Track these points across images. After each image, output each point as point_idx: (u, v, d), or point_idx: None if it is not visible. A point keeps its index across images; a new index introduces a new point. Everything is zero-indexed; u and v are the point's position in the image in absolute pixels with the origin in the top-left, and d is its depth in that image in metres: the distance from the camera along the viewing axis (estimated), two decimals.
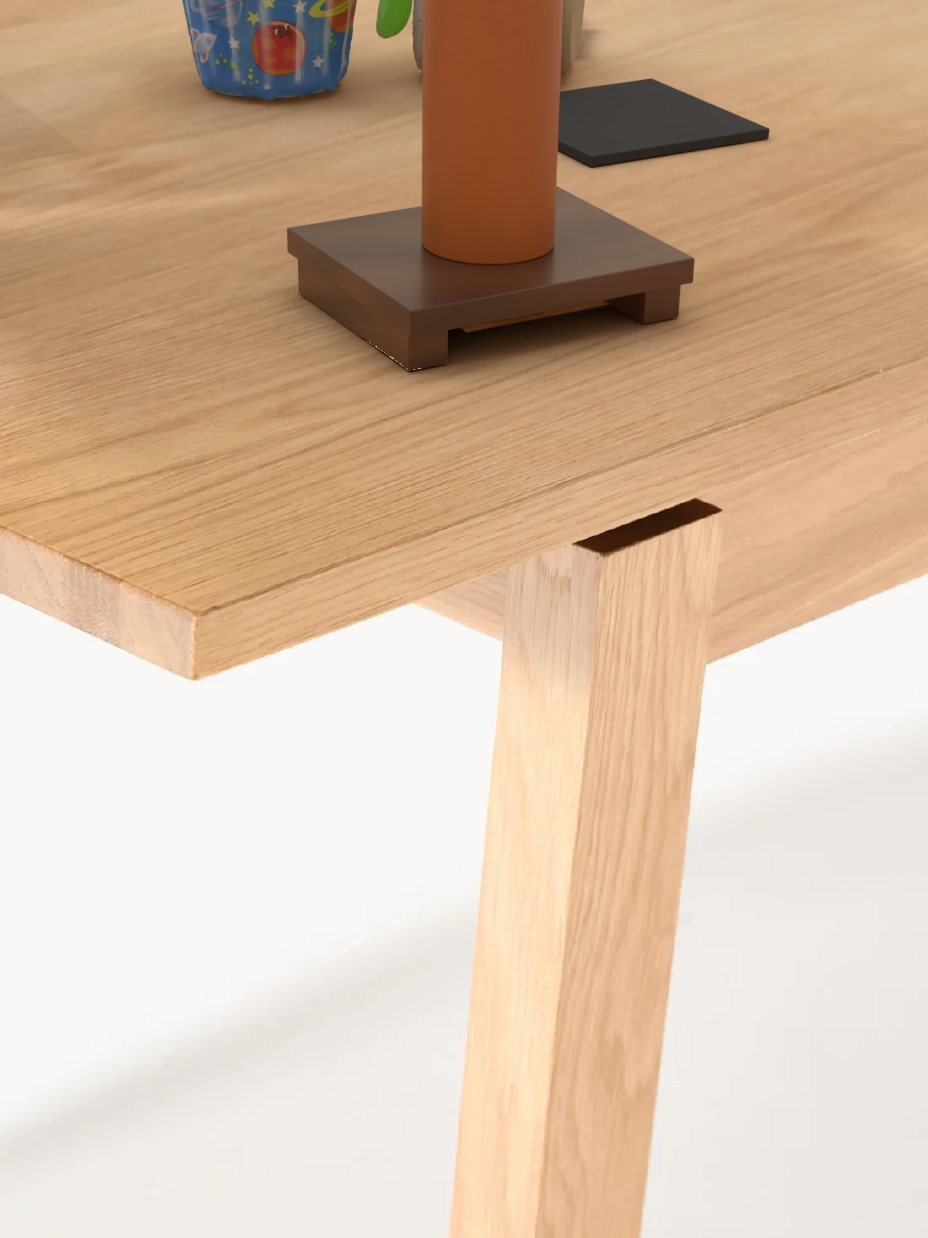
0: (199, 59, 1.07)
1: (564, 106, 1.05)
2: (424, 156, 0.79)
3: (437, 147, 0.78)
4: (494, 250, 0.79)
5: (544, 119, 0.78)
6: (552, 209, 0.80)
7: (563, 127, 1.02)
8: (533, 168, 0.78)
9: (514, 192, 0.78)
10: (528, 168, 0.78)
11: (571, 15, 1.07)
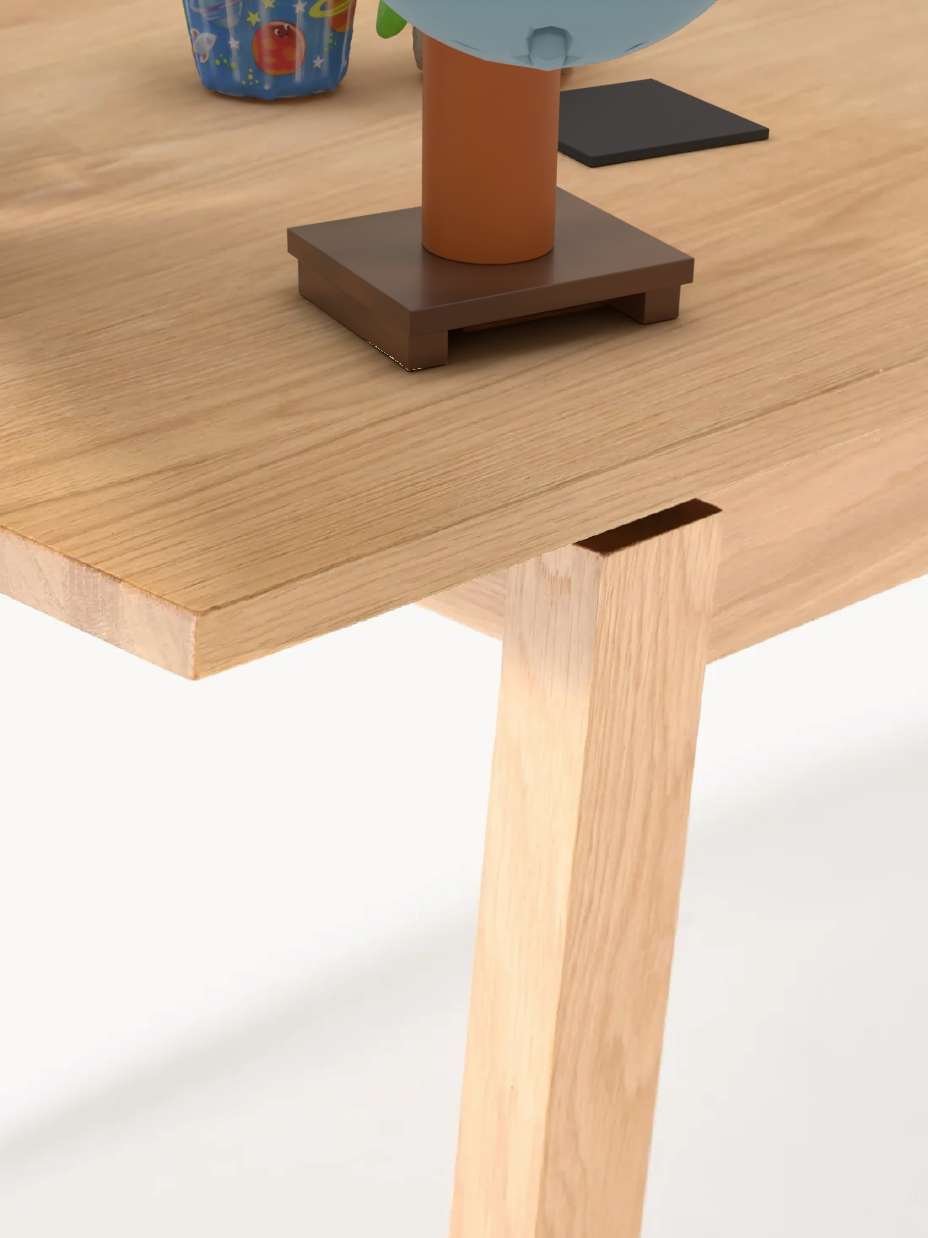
0: (199, 59, 1.07)
1: (564, 106, 1.05)
2: (424, 156, 0.79)
3: (437, 147, 0.78)
4: (494, 250, 0.79)
5: (544, 119, 0.78)
6: (552, 209, 0.80)
7: (563, 127, 1.02)
8: (533, 168, 0.78)
9: (514, 192, 0.78)
10: (528, 168, 0.78)
11: None
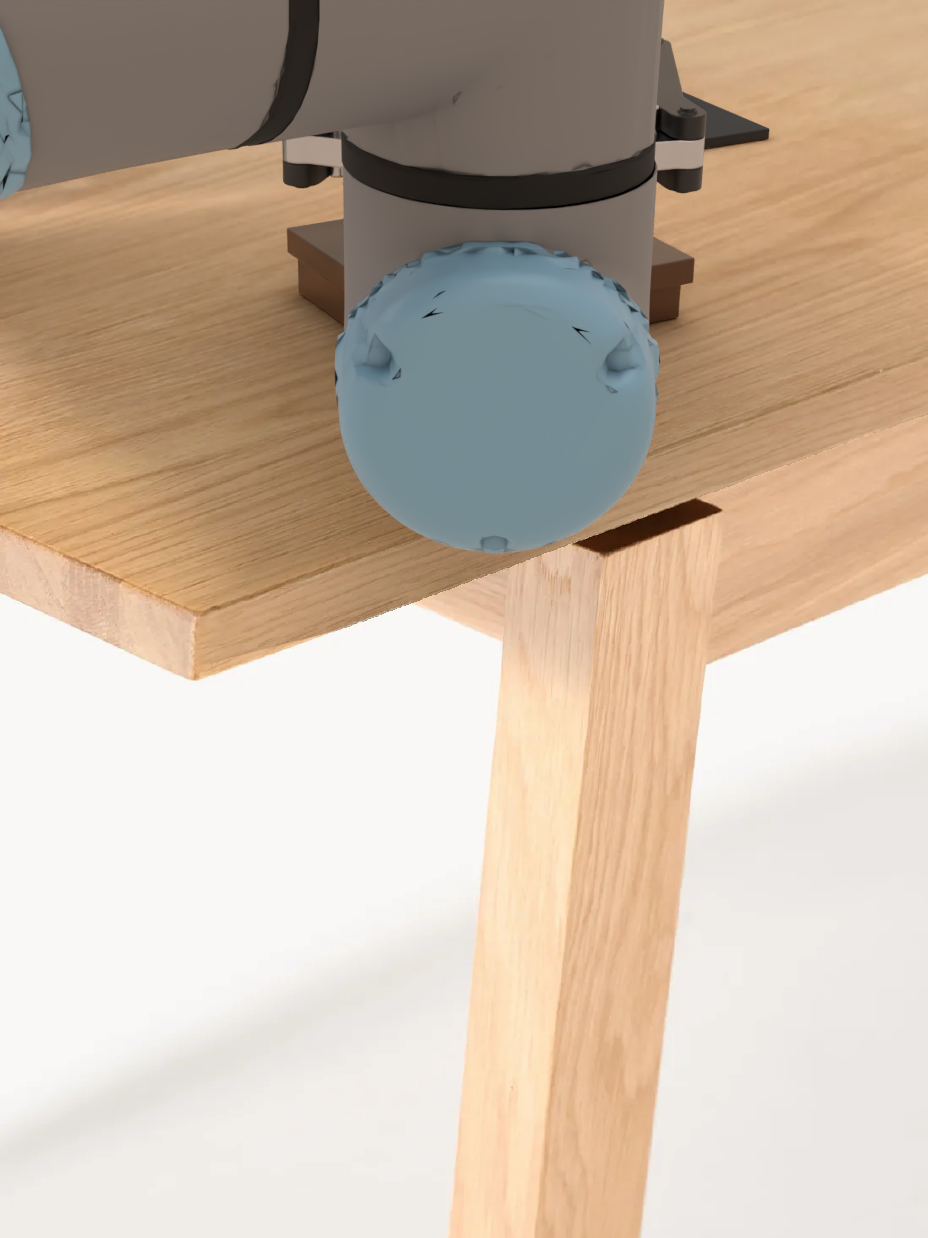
0: None
1: None
2: None
3: None
4: None
5: None
6: None
7: None
8: None
9: None
10: None
11: None
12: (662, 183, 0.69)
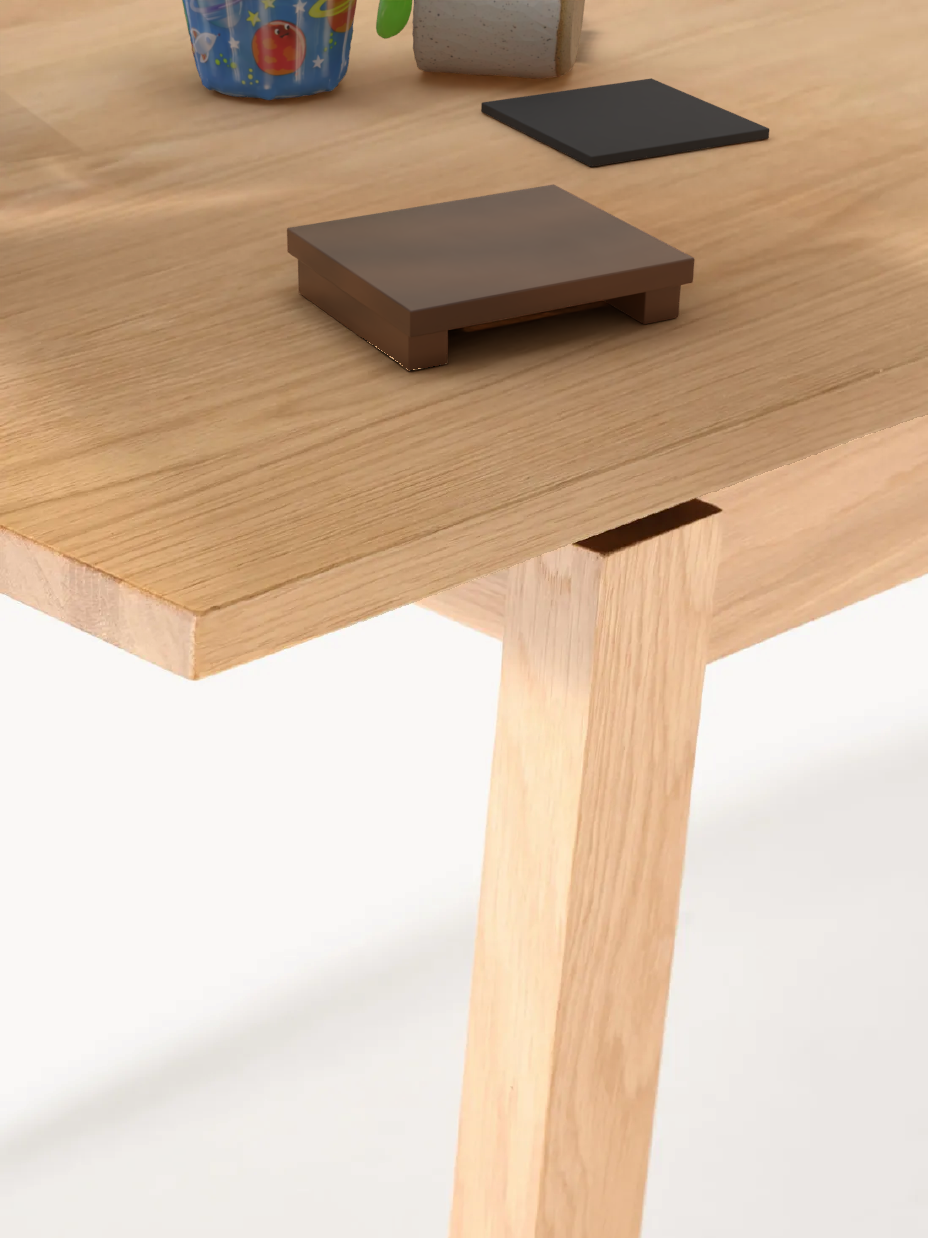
0: (199, 59, 1.07)
1: (564, 106, 1.05)
2: None
3: None
4: None
5: None
6: None
7: (563, 127, 1.02)
8: None
9: None
10: None
11: (571, 15, 1.07)
12: None
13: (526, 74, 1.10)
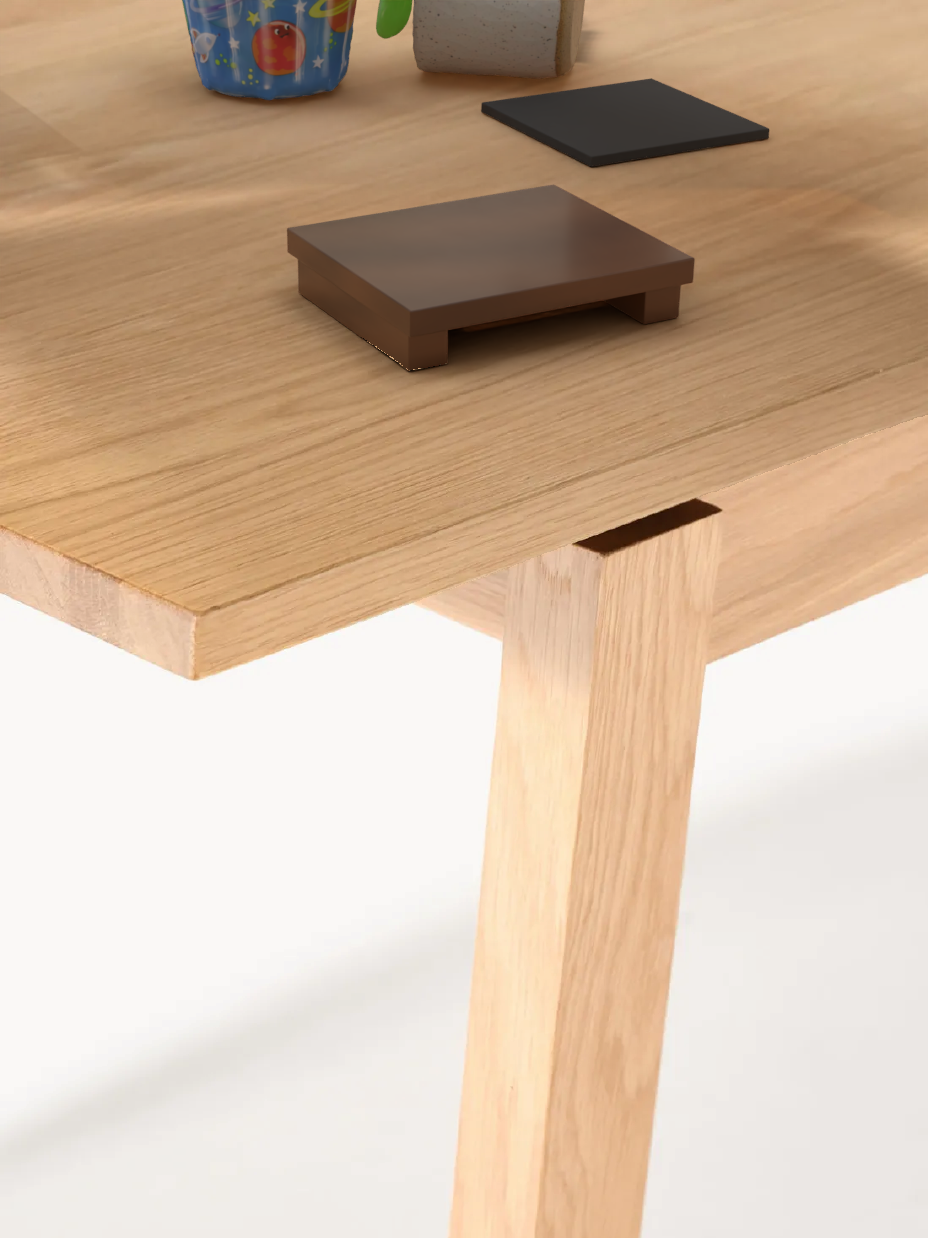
0: (199, 59, 1.07)
1: (564, 106, 1.05)
2: None
3: None
4: None
5: None
6: None
7: (563, 127, 1.02)
8: None
9: None
10: None
11: (571, 15, 1.07)
12: None
13: (526, 74, 1.10)
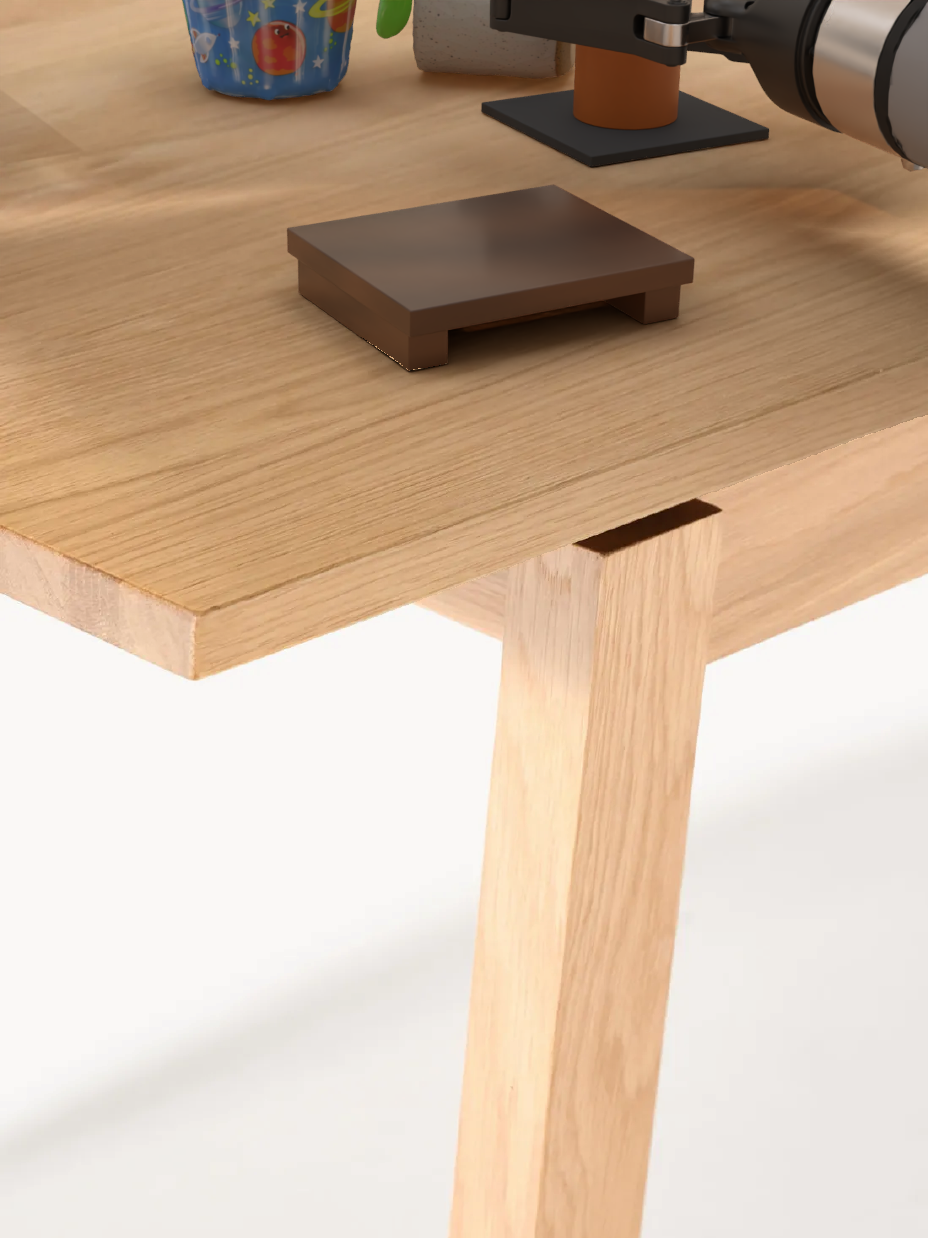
0: (199, 59, 1.07)
1: (564, 106, 1.05)
2: (594, 51, 1.01)
3: None
4: (658, 116, 1.02)
5: None
6: None
7: (563, 127, 1.02)
8: None
9: (671, 68, 1.02)
10: None
11: None
12: None
13: (526, 74, 1.10)
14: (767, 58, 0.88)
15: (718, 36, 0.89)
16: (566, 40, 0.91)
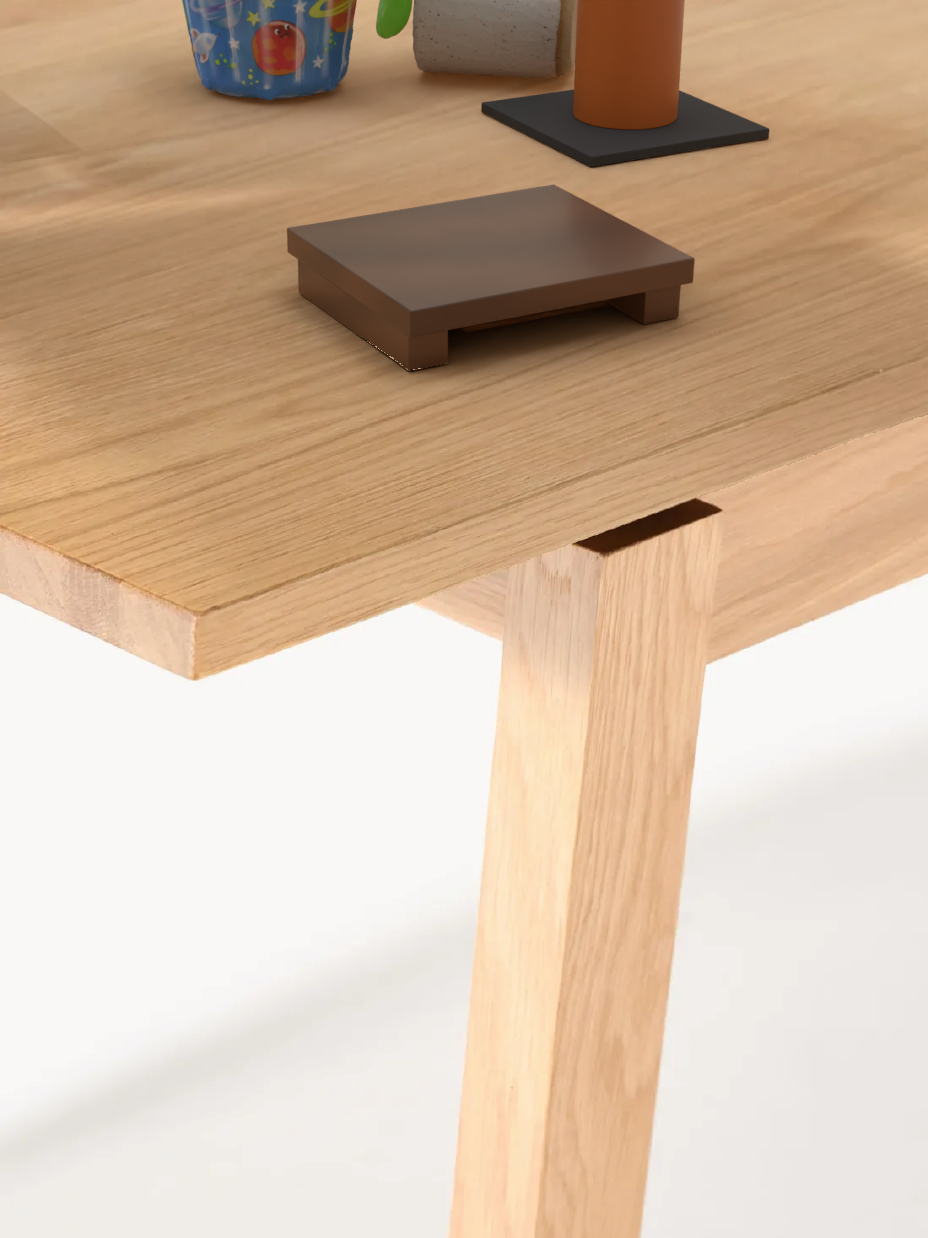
0: (199, 59, 1.07)
1: (564, 106, 1.05)
2: (594, 51, 1.01)
3: (613, 41, 1.00)
4: (658, 116, 1.02)
5: (683, 9, 1.01)
6: None
7: (563, 127, 1.02)
8: (679, 48, 1.02)
9: (671, 68, 1.02)
10: (678, 48, 1.02)
11: (571, 15, 1.07)
12: None
13: (526, 74, 1.10)
14: None
15: None
16: None
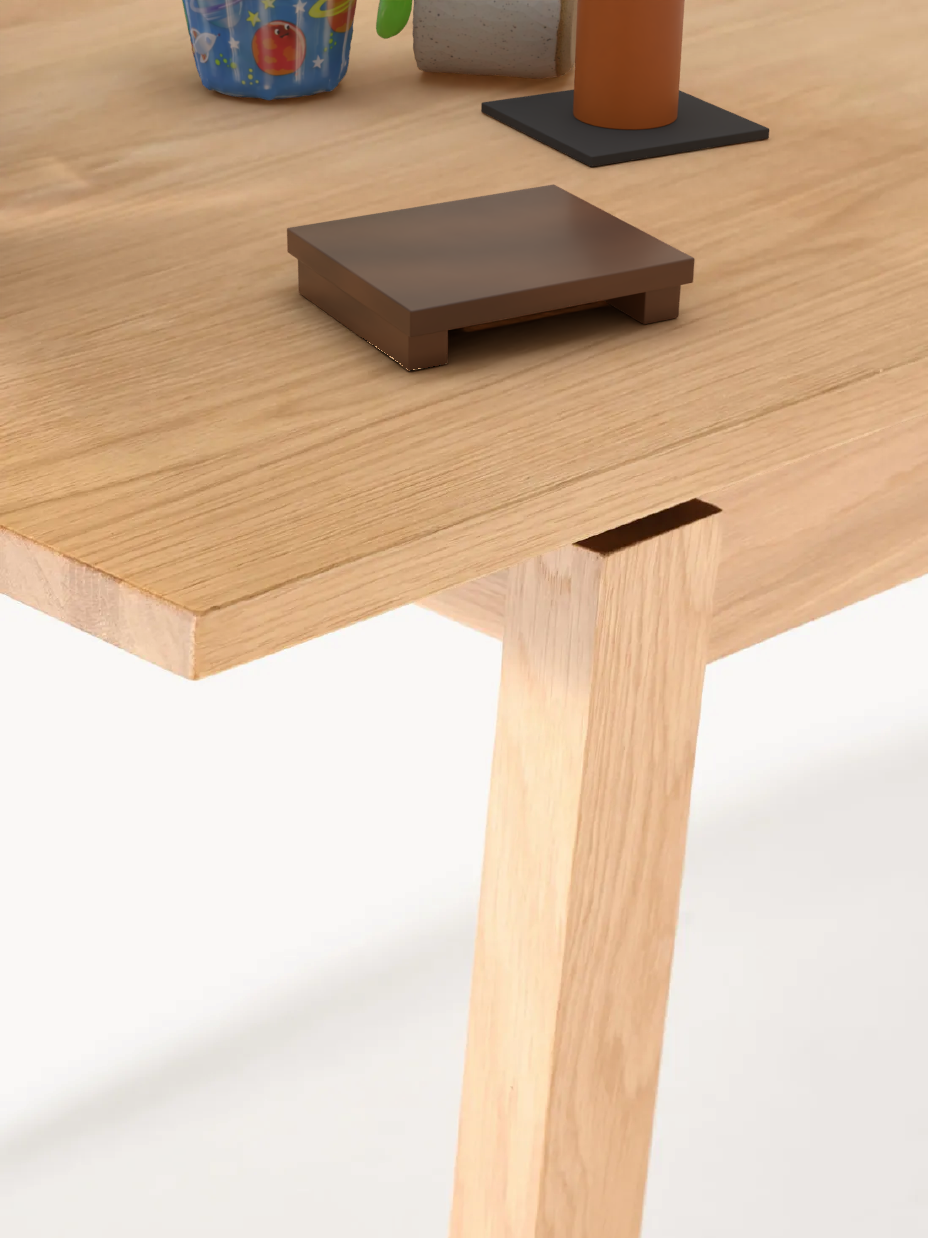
0: (199, 59, 1.07)
1: (564, 106, 1.05)
2: (594, 51, 1.01)
3: (613, 41, 1.00)
4: (658, 116, 1.02)
5: (683, 9, 1.01)
6: None
7: (563, 127, 1.02)
8: (679, 48, 1.02)
9: (671, 68, 1.02)
10: (678, 48, 1.02)
11: (571, 15, 1.07)
12: None
13: (526, 74, 1.10)
14: None
15: None
16: None
